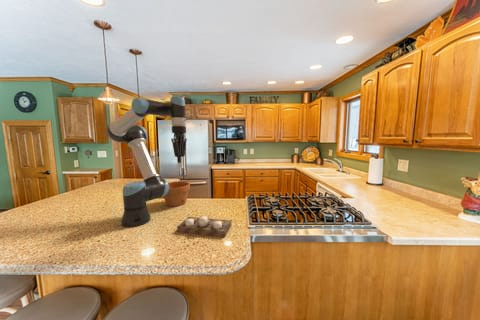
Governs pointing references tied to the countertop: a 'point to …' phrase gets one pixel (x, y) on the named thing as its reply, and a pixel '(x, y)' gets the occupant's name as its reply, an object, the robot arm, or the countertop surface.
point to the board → (205, 230)
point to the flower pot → (177, 193)
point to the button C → (217, 225)
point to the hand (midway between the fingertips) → (180, 168)
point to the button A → (189, 222)
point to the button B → (203, 221)
